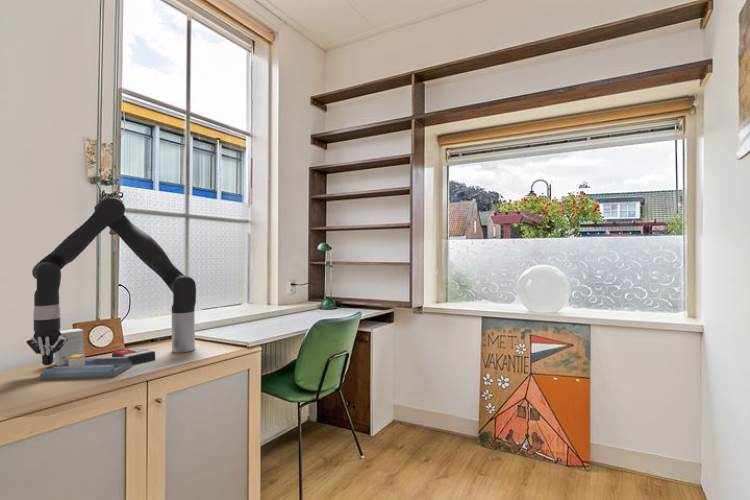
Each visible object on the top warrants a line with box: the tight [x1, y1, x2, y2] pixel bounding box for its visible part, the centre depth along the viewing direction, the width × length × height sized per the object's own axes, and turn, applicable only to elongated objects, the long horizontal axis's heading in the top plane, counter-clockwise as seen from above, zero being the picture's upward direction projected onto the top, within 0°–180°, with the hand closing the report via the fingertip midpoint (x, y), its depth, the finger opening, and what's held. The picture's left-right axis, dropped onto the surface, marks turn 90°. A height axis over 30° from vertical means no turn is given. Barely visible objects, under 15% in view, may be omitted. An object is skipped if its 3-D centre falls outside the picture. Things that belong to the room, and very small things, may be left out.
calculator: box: [111, 346, 156, 366], centre depth 163 cm, size 11×4×15 cm
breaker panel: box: [39, 356, 133, 381], centre depth 146 cm, size 13×24×4 cm, turn 96°
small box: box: [54, 328, 85, 367], centre depth 158 cm, size 8×6×13 cm
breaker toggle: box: [68, 353, 86, 367], centre depth 145 cm, size 4×4×4 cm
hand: (47, 364), depth 144 cm, fingers closed
